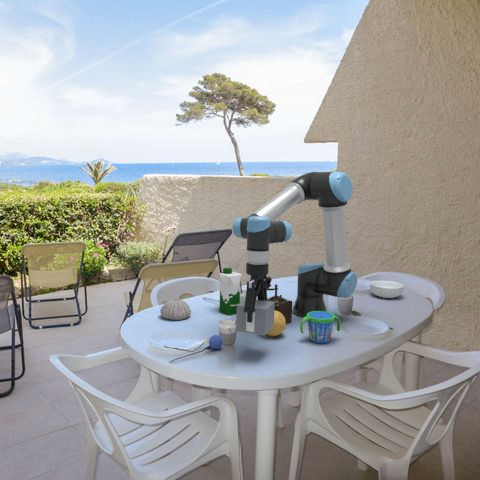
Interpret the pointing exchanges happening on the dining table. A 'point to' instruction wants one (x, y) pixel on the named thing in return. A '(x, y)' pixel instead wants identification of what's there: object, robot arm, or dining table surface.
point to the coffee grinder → (280, 302)
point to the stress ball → (277, 324)
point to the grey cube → (257, 317)
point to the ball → (215, 341)
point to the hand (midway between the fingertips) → (255, 326)
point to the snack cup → (320, 325)
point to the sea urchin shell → (175, 310)
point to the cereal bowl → (386, 288)
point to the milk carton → (229, 291)
